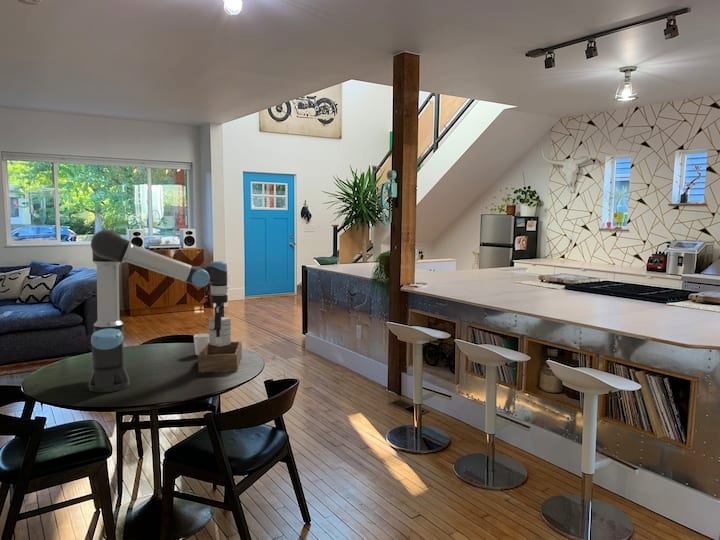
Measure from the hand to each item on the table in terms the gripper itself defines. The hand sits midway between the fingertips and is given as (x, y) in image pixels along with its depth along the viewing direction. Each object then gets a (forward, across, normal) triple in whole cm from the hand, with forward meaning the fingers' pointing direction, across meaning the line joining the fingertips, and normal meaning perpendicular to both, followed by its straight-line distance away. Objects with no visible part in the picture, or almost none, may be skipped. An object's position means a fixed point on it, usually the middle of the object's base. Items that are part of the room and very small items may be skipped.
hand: (219, 340), depth 244 cm
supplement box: (+2, 0, 0) cm, 2 cm away
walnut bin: (+12, 0, 0) cm, 12 cm away
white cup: (+12, +20, +12) cm, 26 cm away
